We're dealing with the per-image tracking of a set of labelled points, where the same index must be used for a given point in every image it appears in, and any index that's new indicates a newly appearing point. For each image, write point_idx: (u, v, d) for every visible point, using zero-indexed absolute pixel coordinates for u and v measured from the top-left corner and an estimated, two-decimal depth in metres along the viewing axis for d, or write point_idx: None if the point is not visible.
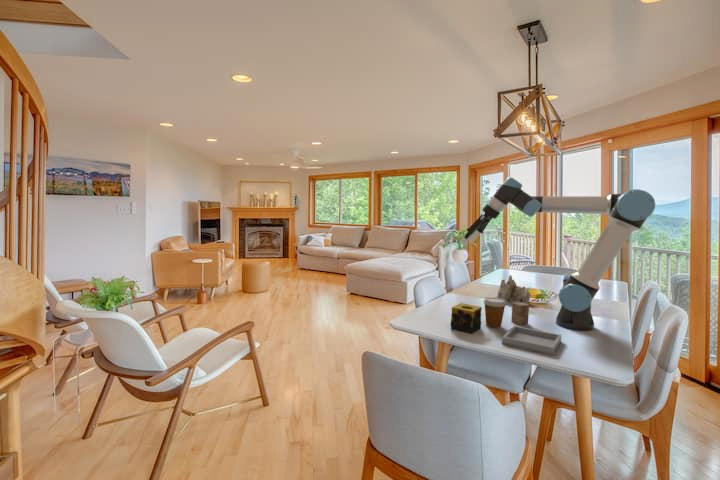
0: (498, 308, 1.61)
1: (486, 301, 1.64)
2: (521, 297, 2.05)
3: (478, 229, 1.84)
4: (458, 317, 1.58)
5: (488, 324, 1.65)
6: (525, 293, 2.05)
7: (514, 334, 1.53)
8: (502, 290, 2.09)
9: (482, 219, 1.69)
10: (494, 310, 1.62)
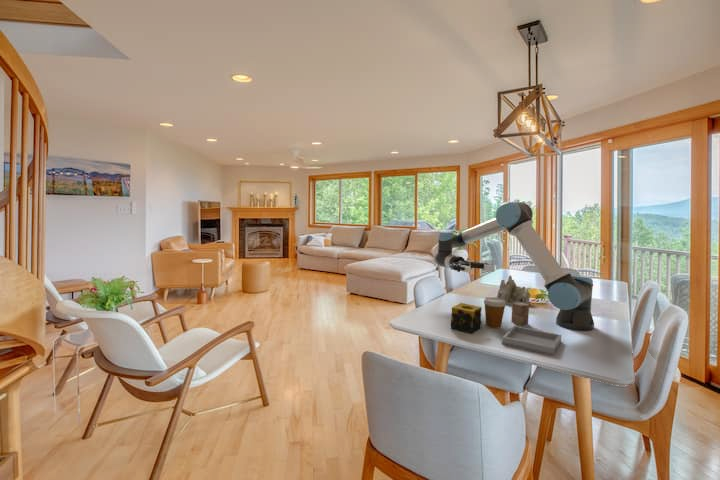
0: (498, 308, 1.61)
1: (486, 301, 1.64)
2: (521, 297, 2.05)
3: (483, 267, 1.83)
4: (458, 317, 1.58)
5: (488, 324, 1.65)
6: (525, 293, 2.05)
7: (514, 334, 1.53)
8: (502, 290, 2.09)
9: (451, 263, 1.85)
10: (494, 310, 1.62)
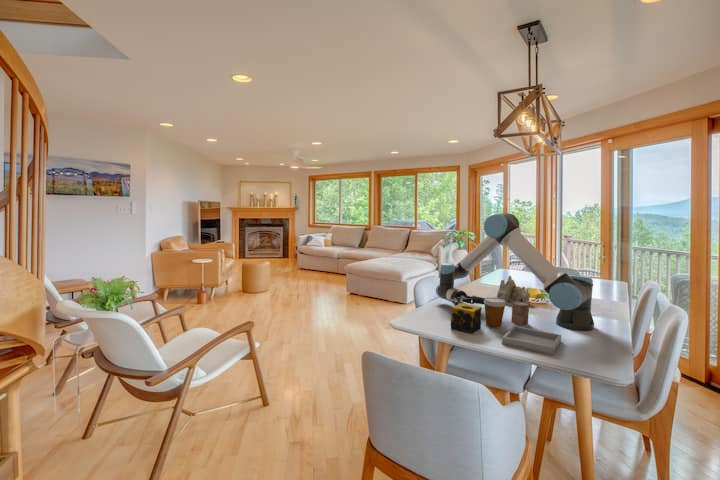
0: (498, 308, 1.61)
1: (486, 301, 1.64)
2: (521, 297, 2.04)
3: None
4: (458, 317, 1.58)
5: (488, 324, 1.65)
6: (525, 294, 2.04)
7: (514, 334, 1.53)
8: (502, 290, 2.08)
9: (452, 299, 1.83)
10: (494, 310, 1.62)
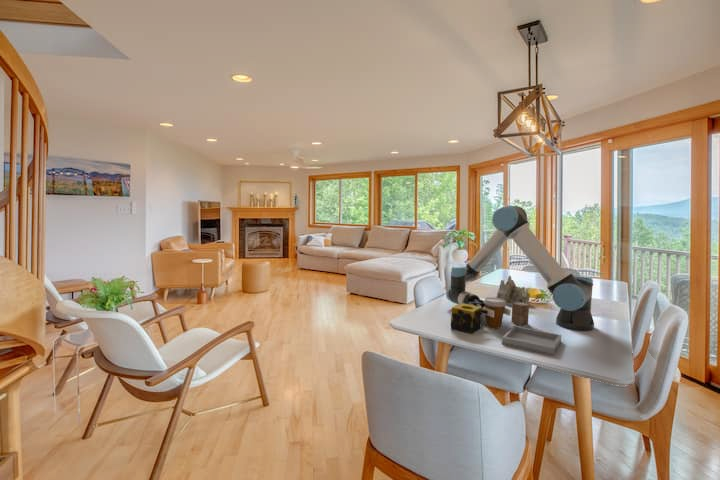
0: (498, 308, 1.61)
1: (486, 301, 1.64)
2: (521, 298, 2.04)
3: None
4: (458, 317, 1.58)
5: (488, 324, 1.65)
6: (525, 294, 2.04)
7: (514, 334, 1.53)
8: (502, 290, 2.08)
9: None
10: (494, 310, 1.62)
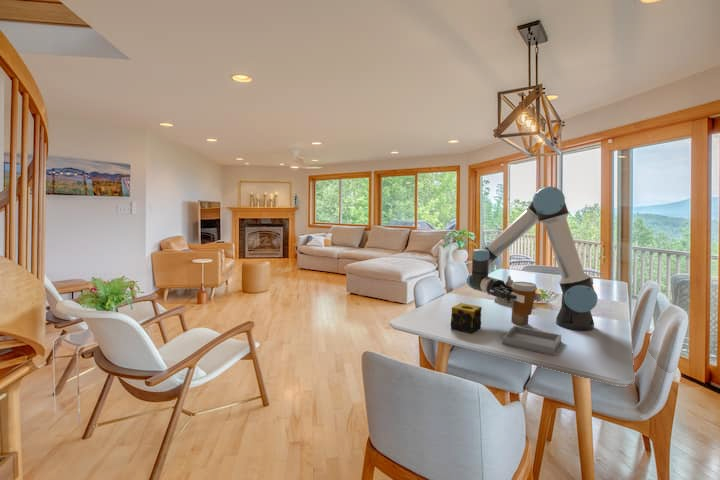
0: (529, 292, 1.44)
1: (514, 285, 1.47)
2: None
3: None
4: (458, 317, 1.58)
5: (517, 311, 1.47)
6: None
7: (514, 334, 1.53)
8: None
9: (492, 289, 1.56)
10: (524, 295, 1.44)
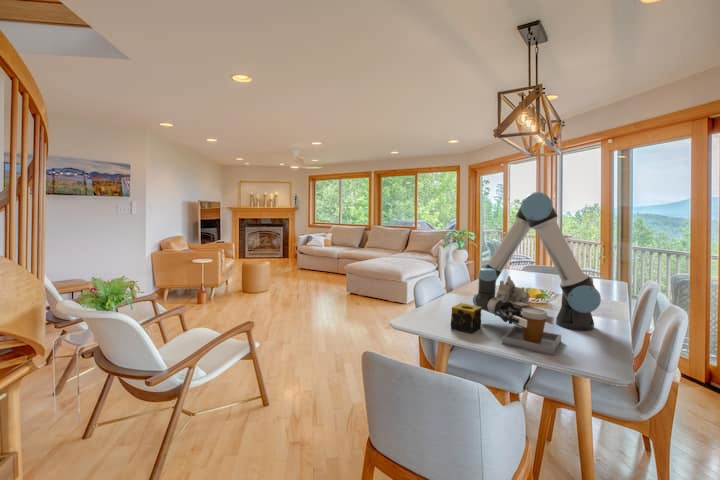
0: (539, 320, 1.41)
1: (524, 313, 1.44)
2: (520, 298, 2.03)
3: None
4: (458, 317, 1.58)
5: (527, 339, 1.45)
6: (525, 294, 2.03)
7: (514, 334, 1.53)
8: (501, 291, 2.06)
9: (498, 311, 1.53)
10: (534, 323, 1.42)
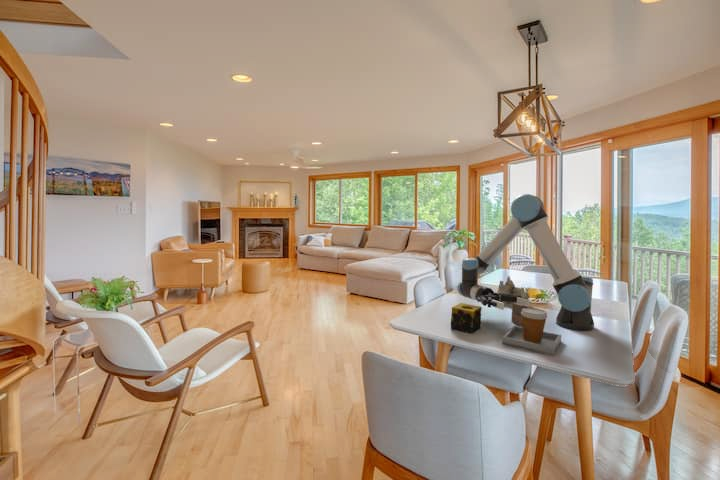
0: (539, 320, 1.41)
1: (525, 312, 1.44)
2: None
3: (516, 301, 1.63)
4: (458, 317, 1.58)
5: (527, 339, 1.45)
6: (524, 295, 2.02)
7: (514, 334, 1.53)
8: (501, 291, 2.06)
9: (479, 297, 1.64)
10: (535, 323, 1.42)
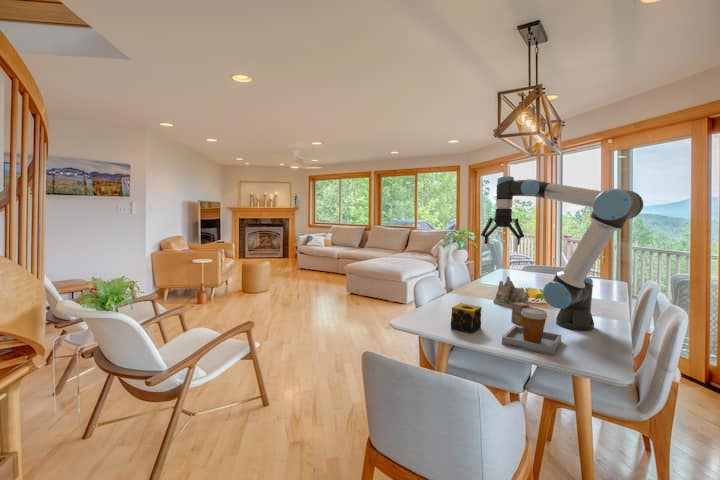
0: (539, 320, 1.41)
1: (524, 313, 1.44)
2: (520, 299, 2.01)
3: (516, 236, 1.83)
4: (458, 317, 1.58)
5: (527, 339, 1.45)
6: (524, 295, 2.01)
7: (514, 334, 1.53)
8: (501, 292, 2.05)
9: (489, 220, 1.82)
10: (535, 323, 1.42)
